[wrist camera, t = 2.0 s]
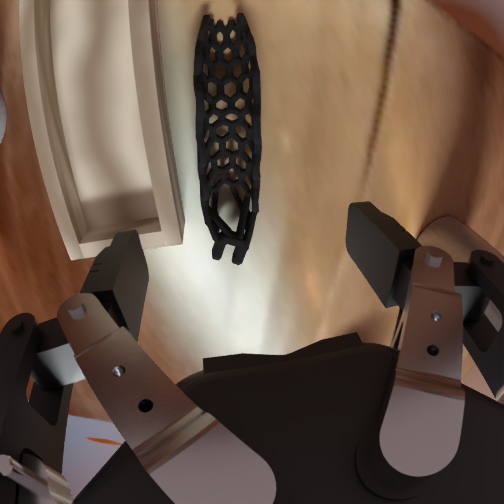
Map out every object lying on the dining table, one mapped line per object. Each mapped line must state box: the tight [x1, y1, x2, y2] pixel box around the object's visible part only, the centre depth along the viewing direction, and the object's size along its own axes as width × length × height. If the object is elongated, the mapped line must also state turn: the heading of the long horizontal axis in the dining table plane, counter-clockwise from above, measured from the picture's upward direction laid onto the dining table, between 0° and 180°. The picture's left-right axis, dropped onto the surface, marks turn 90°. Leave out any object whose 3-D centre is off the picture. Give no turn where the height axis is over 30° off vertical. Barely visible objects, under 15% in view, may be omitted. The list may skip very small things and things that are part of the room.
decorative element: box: [193, 13, 262, 265], centre depth 24 cm, size 22×5×6 cm, turn 1°
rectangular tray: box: [20, 0, 185, 260], centre depth 20 cm, size 11×27×4 cm, turn 4°
